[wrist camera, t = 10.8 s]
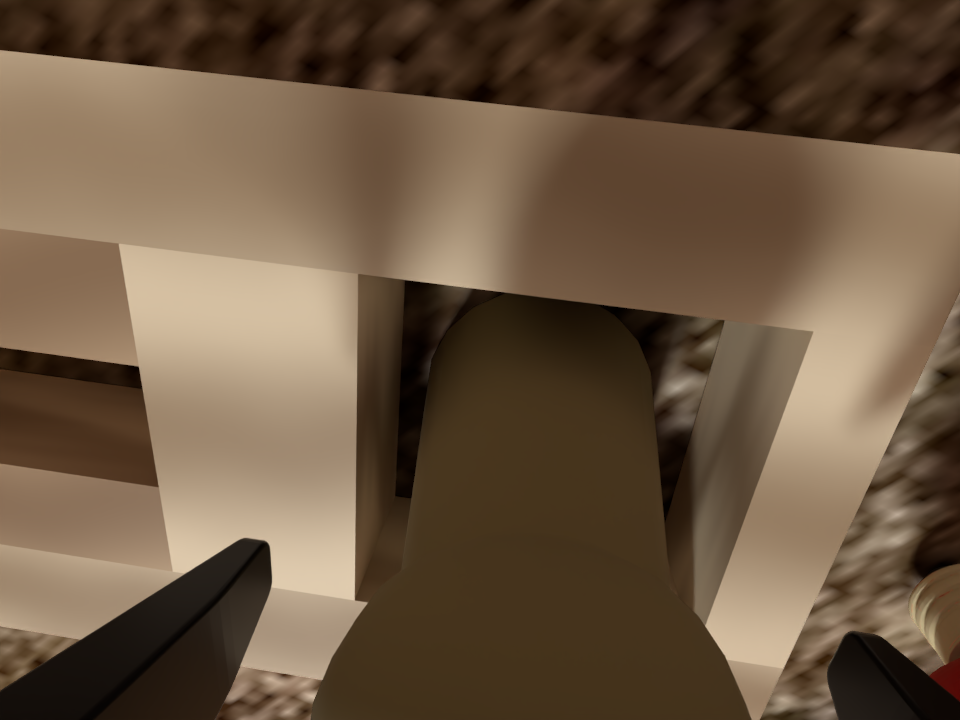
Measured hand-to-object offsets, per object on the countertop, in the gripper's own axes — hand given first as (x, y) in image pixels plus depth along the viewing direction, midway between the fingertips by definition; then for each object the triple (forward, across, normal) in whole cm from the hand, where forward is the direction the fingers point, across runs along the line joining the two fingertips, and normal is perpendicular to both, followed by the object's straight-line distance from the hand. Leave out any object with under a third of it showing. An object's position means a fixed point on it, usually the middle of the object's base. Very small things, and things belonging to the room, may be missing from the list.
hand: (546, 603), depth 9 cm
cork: (+7, 0, 0) cm, 7 cm away
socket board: (+7, +6, 0) cm, 9 cm away
